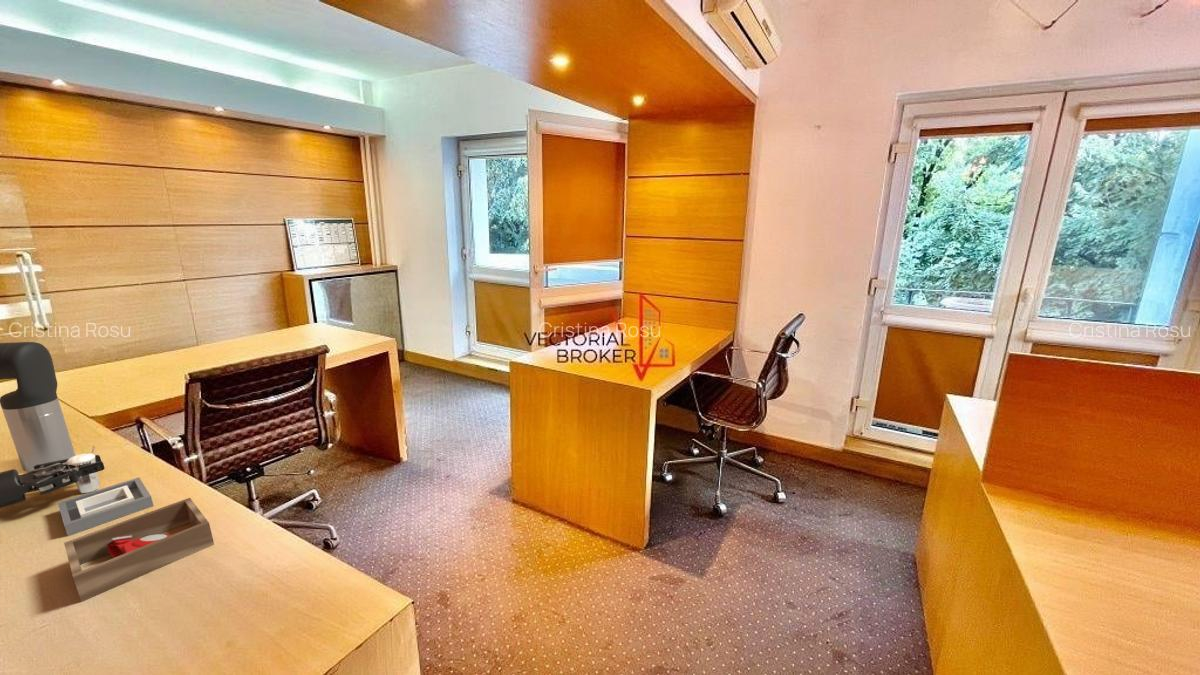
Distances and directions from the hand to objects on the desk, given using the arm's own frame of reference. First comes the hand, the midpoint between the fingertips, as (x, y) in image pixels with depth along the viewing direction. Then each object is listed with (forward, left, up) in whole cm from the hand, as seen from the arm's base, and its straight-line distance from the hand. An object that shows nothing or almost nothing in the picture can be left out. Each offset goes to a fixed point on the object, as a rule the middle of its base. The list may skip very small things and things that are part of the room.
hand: (101, 461), depth 111 cm
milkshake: (0, -3, -6) cm, 7 cm away
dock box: (+14, -2, -6) cm, 16 cm away
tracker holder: (+40, 0, -6) cm, 41 cm away
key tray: (+41, 0, -6) cm, 41 cm away
